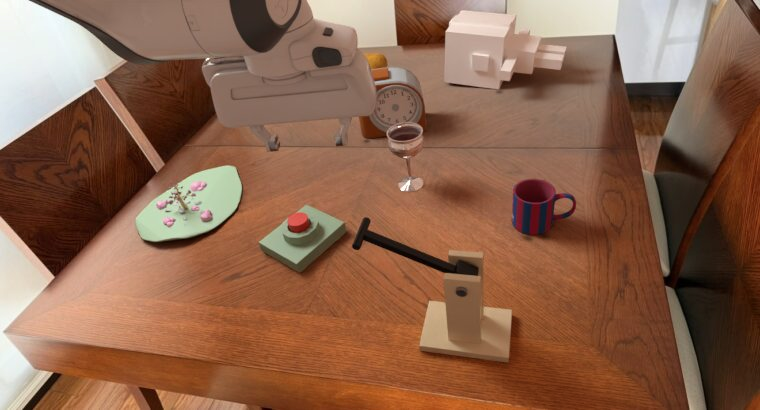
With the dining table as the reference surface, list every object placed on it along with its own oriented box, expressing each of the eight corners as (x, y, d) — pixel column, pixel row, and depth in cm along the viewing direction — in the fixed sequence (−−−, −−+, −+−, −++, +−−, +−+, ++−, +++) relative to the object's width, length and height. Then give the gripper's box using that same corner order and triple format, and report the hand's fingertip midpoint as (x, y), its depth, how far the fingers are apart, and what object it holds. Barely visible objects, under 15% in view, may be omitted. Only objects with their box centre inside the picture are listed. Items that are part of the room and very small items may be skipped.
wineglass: (407, 199, 96) (400, 146, 88) (387, 183, 100) (379, 132, 93) (435, 184, 98) (430, 131, 90) (414, 169, 103) (408, 118, 95)
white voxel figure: (550, 111, 116) (434, 94, 125) (564, 64, 133) (461, 52, 142) (561, 50, 106) (435, 37, 115) (575, 8, 123) (464, -1, 132)
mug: (514, 207, 90) (516, 176, 85) (574, 214, 86) (579, 183, 82) (508, 232, 85) (509, 201, 81) (571, 241, 82) (575, 209, 77)
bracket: (419, 350, 70) (410, 284, 61) (429, 305, 75) (422, 239, 67) (508, 363, 66) (512, 295, 58) (512, 314, 72) (515, 246, 63)
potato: (340, 75, 142) (335, 51, 138) (390, 71, 139) (387, 47, 135) (335, 87, 137) (330, 62, 132) (387, 83, 134) (384, 58, 130)
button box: (299, 273, 84) (293, 256, 82) (261, 251, 90) (255, 234, 87) (346, 231, 91) (342, 214, 88) (308, 213, 96) (304, 196, 94)
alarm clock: (362, 140, 114) (351, 85, 105) (361, 121, 120) (352, 68, 112) (427, 131, 113) (422, 75, 104) (423, 113, 120) (418, 59, 111)
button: (299, 236, 86) (297, 228, 85) (285, 228, 88) (283, 221, 87) (314, 223, 88) (311, 216, 87) (300, 217, 90) (297, 209, 89)
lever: (349, 251, 62) (354, 239, 60) (360, 224, 66) (365, 212, 64) (468, 299, 62) (476, 289, 61) (472, 270, 66) (480, 259, 64)
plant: (172, 170, 115) (156, 137, 109) (258, 165, 112) (245, 131, 106) (118, 248, 96) (95, 212, 90) (219, 245, 93) (202, 208, 87)
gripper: (187, 67, 57) (227, 166, 66) (364, 49, 54) (381, 154, 63) (205, 45, 62) (240, 139, 71) (368, 27, 59) (384, 127, 68)
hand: (308, 146), depth 67 cm, fingers open, 8 cm apart
